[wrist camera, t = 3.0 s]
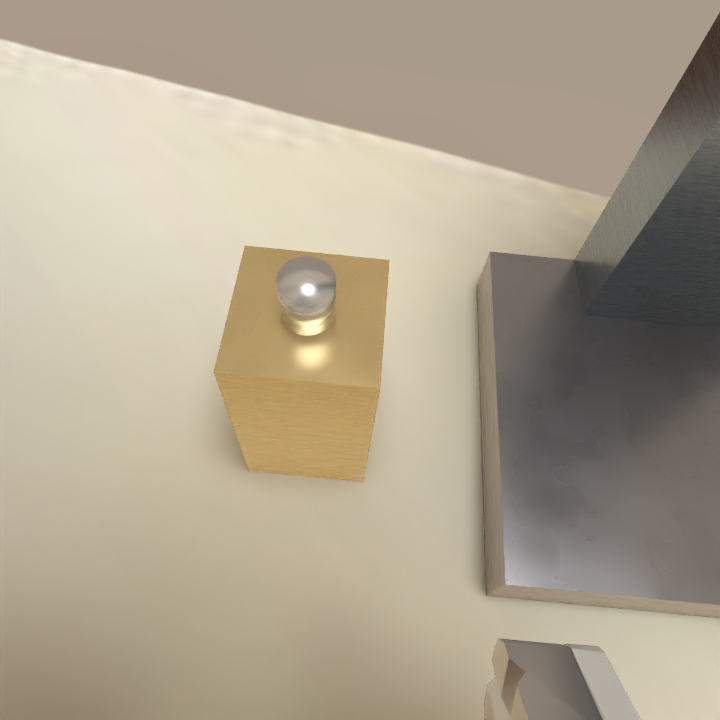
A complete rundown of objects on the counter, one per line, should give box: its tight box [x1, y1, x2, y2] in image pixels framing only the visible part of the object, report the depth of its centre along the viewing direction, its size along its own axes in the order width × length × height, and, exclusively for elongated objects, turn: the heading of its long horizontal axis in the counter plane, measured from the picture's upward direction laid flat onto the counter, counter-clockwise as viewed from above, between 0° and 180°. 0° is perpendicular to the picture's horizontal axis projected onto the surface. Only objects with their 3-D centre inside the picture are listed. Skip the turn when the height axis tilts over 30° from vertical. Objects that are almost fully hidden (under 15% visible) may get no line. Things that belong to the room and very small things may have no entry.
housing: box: [214, 246, 389, 482], centre depth 19 cm, size 4×4×10 cm
